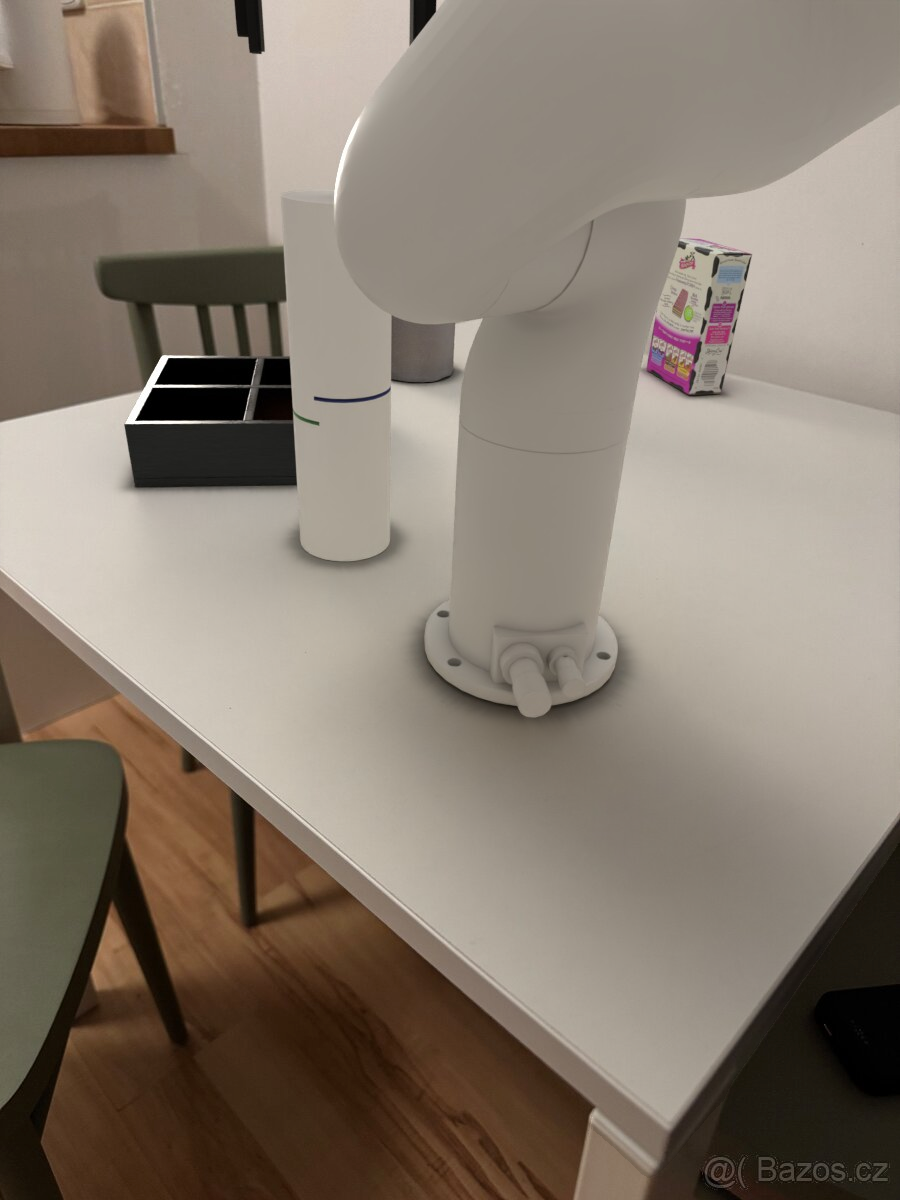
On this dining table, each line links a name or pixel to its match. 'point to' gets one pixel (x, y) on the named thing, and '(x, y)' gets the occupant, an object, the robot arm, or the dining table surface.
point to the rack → (214, 423)
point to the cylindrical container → (336, 389)
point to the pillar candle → (421, 351)
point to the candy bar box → (698, 316)
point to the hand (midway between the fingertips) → (337, 57)
